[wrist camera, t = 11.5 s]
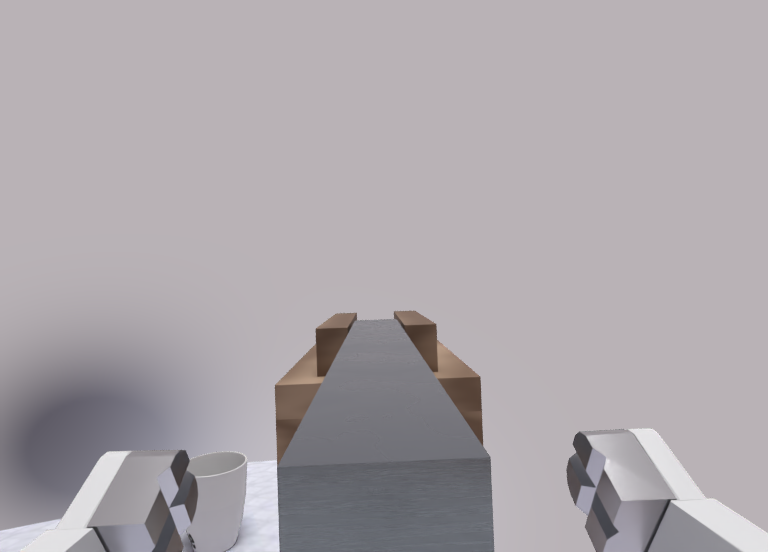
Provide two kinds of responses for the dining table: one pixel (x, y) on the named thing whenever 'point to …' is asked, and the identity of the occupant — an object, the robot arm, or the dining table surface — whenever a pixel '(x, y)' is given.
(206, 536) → the cup
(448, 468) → the bar
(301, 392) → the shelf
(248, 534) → the dining table surface
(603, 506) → the robot arm
